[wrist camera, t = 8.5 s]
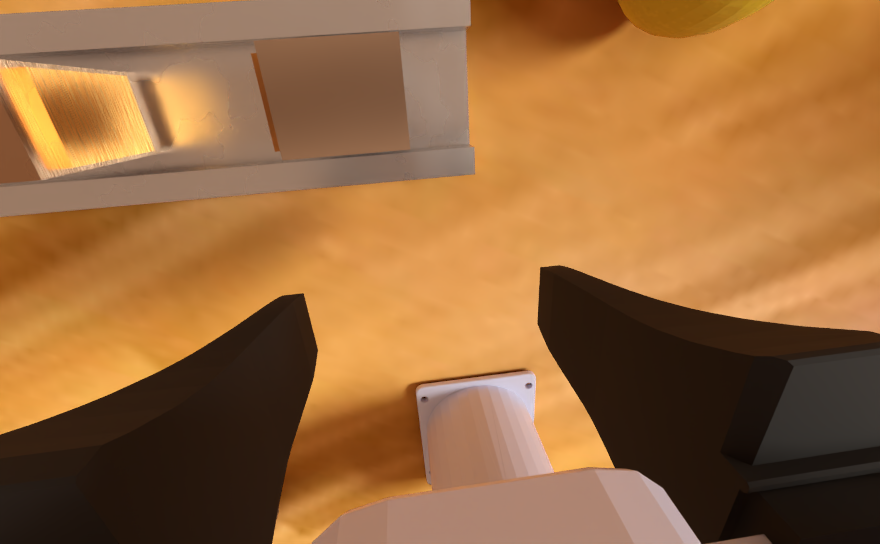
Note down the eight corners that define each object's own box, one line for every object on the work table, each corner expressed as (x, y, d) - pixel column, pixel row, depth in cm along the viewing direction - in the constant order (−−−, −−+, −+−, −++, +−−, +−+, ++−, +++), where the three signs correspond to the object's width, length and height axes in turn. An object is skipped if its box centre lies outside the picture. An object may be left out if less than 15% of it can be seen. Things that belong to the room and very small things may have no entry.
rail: (467, 167, 19) (501, 198, 13) (5, 208, 18) (-206, 266, 11) (461, 0, 16) (502, -61, 10) (-96, 32, 15) (-457, -17, 8)
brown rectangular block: (405, 133, 17) (410, 149, 12) (309, 141, 17) (269, 161, 12) (397, 54, 16) (398, 31, 11) (292, 61, 16) (238, 41, 10)
